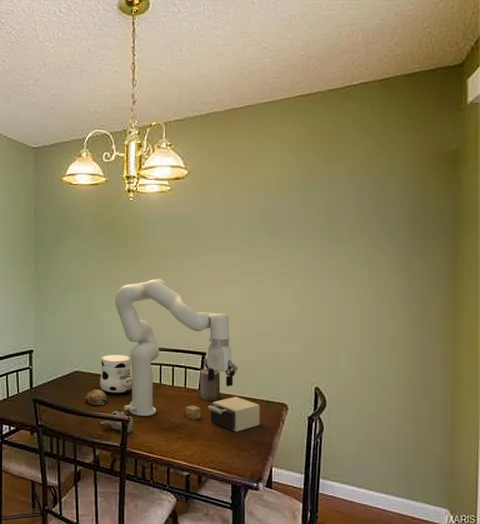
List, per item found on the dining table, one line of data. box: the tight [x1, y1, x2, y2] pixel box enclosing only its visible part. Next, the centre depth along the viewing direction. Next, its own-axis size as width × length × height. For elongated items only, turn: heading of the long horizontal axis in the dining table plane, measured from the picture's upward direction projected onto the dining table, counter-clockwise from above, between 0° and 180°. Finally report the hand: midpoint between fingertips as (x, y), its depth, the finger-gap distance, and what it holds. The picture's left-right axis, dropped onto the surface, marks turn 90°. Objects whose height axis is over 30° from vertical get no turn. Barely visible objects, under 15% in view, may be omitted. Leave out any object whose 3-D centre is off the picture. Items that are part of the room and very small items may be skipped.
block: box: [185, 405, 201, 421], centre depth 192 cm, size 4×4×4 cm
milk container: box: [99, 354, 132, 395], centre depth 231 cm, size 17×17×18 cm
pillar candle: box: [199, 368, 221, 402], centre depth 219 cm, size 10×10×15 cm
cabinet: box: [212, 396, 261, 433], centre depth 185 cm, size 15×13×9 cm
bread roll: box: [85, 389, 108, 406], centre depth 213 cm, size 10×10×8 cm
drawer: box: [207, 404, 235, 431], centre depth 182 cm, size 18×11×8 cm, turn 120°
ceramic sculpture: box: [98, 409, 134, 434], centre depth 178 cm, size 11×9×15 cm
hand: (220, 382), depth 181 cm, fingers open, 9 cm apart
